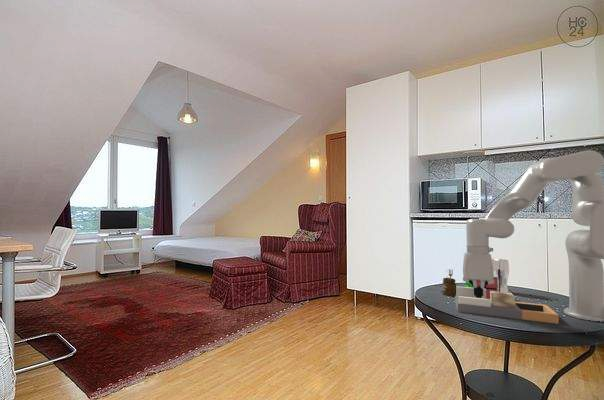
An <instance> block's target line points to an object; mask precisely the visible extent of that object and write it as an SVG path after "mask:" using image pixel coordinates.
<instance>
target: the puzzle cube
mask: <svg viewBox="0 0 604 400" xmlns="http://www.w3.org/2000/svg"><path fill="white" fill-rule="evenodd" d="M493 279H494V284H488V285H486V286H485V287H484V288H483V289H486V299H490V291H496V292H498V289H497V288H498V278H497V277H495V276H494V278H493ZM470 280H471V279H470ZM476 283H477V286H478V287H479V285H480V280H476ZM465 287H471V288H474V287H473V286H472V285H471V284H470V283H468V282H465Z"/></svg>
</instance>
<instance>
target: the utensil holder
mask: <svg viewBox="0 0 604 400" xmlns="http://www.w3.org/2000/svg"><path fill="white" fill-rule="evenodd" d="M445 272H448V277H443V278H442V281H443V282H442V284H441V292H442V294H443V295H444V296H448V297H455V296H457V283H456V279H455V278H453V277H452V276H453V273H454V272H453V268H452V269H449V268H448V269H447V270H445Z"/></svg>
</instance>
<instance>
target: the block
mask: <svg viewBox="0 0 604 400" xmlns="http://www.w3.org/2000/svg"><path fill="white" fill-rule="evenodd" d="M490 300H491V303H492V305H493V306H502V307H511V308H515V302H516V296H515V295H514V294H513V293H512V292H508V293H507V292H496V291H490Z"/></svg>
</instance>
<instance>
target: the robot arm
mask: <svg viewBox="0 0 604 400" xmlns="http://www.w3.org/2000/svg"><path fill="white" fill-rule="evenodd" d="M603 167H604V156H603V155H602V154H601V153H600V152H598V151H595V150H589V149H588V150H583V151H578V152H574V153H570V154H565V155H560V156H555V157H550V158H546V159H542V160H539V161H536V162H532V164H531V165H529V166H528V168H526V170H525V171H524V172H523V174H522V175H521V177H520V178H519V179H518V181H517V182H516V183H515V185H514V186H513V187H512V189H511V190H510V191H509V192H508V193H507V194H506V195H504V197H503V198H502V199H501V200H499V202H498V203H497V204H495V205H494V207H492V209H491V210H490V211H489V213H488V214H487V216H486V217H485V218H470V219H467V220H466V227H465V228H466V252H464V254H463V264H462V265H463V266H462V274H463V275H462V276H463V277H462V281H463V282H465V283H466V282H468V283H470V284H471V285H472V286H473V287H474V296H476V298H481V296H483V288H484V287H485V286H486V285H488V284H494V279H493V278H494V272H493V263H492V259H493V258H492V255H491V252H494V248H493V247H490V243H489V242H490V241H489V238H495V239H507V238H510V237H511V236H512V235H513V234H514V233H515V225H514V224H513V223H512V221H510V219H511V218H512V217H513V216H514V215H516V214H517V213H519V212H520V211H523V210H525V209H527V208H528V207H530V206H532V205H533V204H534V203H535V202H536V200H537V199H538V197H539V196H540V195H541V194H542V192H543V191H544V189H545V188H546V187H547V185H549V183H552V182H553V183H554V182H559V181H566V180H568V182H569V183H570V185H571V188H572V203H571V219H572V221H573V222H574V223H575V224H576V225H579V226H582V227H589V229H576V230H573V231H571V232H570V233H568V235H567V236H566V237H565V243H564V244H565V251H566V254H567V261H568V286H569V287H568V295H569V299H568V300H569V301H568V302H569V303H568V305H569V306H568V307H566V308H564V309H563V312H564V314H566V315H568V316H570V317H573V318H576V319H579V320H585V321H589V320H590V321H589V322H597V321H600V322H601V323H604V265H603V262H602V260H604V183H603V181H602V179H601V177H600V176H599V175H598V174H597V173H598V172H599V171H600V170H601V169H602V168H603ZM470 279H471V280H470ZM476 280H480V285H479V287H478V286H477V283H476ZM602 321H603V322H602ZM600 322H599V323H600Z"/></svg>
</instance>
